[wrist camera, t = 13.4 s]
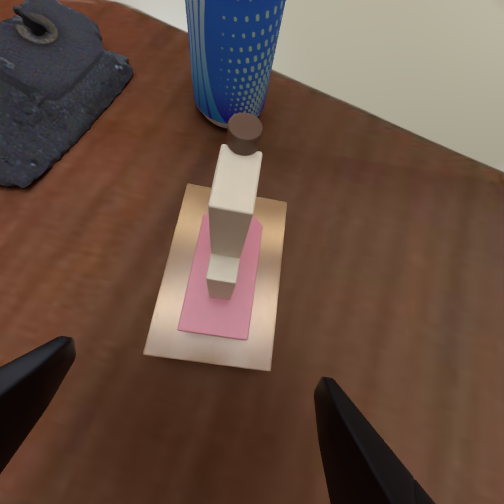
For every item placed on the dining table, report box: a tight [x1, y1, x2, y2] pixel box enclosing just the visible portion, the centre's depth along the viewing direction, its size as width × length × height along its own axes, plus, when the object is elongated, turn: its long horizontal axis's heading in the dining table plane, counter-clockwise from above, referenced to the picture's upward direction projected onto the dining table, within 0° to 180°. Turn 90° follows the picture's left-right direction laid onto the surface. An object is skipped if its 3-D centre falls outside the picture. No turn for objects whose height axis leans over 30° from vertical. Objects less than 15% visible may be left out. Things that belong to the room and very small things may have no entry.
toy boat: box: [177, 113, 263, 340], centre depth 13 cm, size 10×4×13 cm, turn 172°
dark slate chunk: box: [0, 0, 133, 188], centre depth 25 cm, size 15×22×5 cm
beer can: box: [185, 0, 286, 128], centre depth 24 cm, size 8×8×16 cm
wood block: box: [143, 184, 287, 372], centre depth 22 cm, size 14×9×4 cm, turn 172°
